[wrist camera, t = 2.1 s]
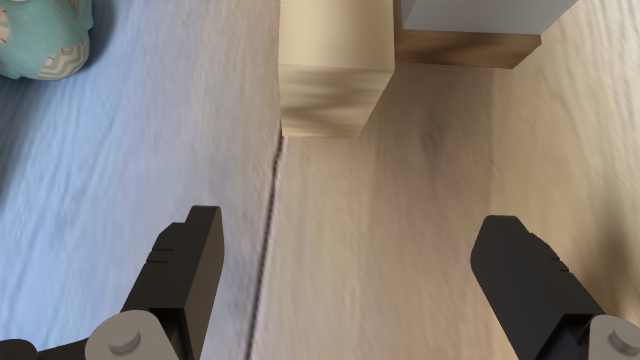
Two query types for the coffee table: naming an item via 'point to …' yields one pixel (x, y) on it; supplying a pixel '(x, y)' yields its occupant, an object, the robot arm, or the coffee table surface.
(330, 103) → the oak block
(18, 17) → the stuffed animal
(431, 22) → the tower top
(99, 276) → the coffee table surface
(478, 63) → the tower base
